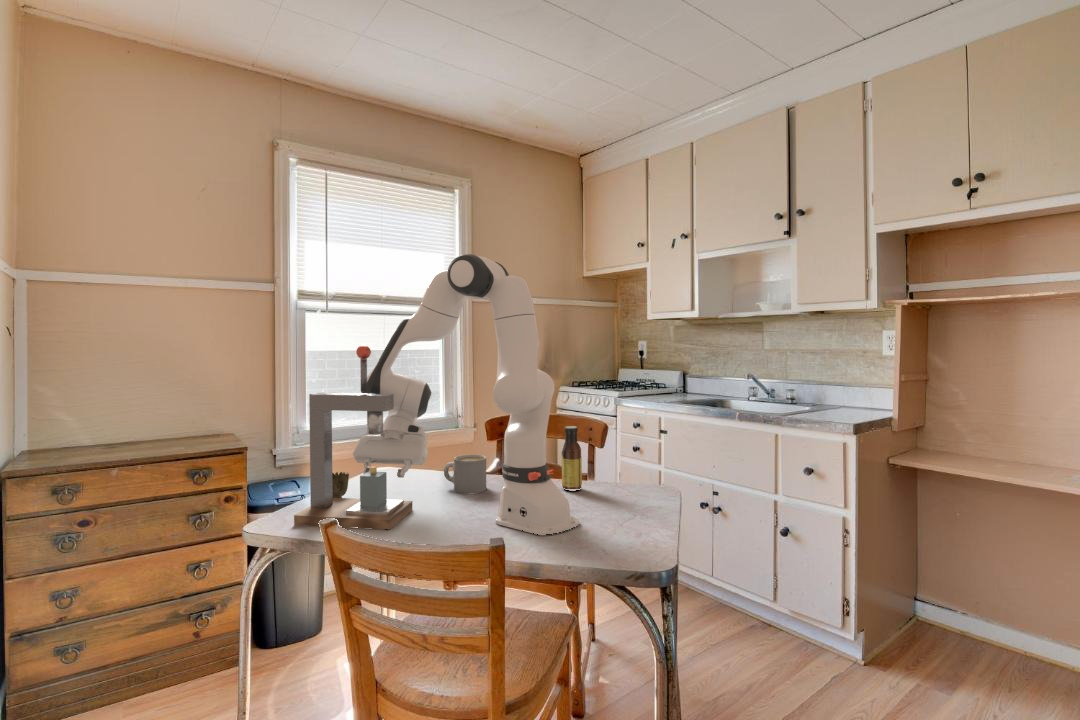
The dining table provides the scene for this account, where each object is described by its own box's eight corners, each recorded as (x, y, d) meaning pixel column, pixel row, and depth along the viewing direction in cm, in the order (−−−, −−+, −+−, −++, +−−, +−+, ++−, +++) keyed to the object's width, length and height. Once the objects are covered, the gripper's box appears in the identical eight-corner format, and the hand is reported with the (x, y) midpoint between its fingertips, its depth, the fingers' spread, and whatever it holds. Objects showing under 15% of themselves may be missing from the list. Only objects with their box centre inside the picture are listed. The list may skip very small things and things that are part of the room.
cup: (340, 506, 155) (339, 478, 155) (316, 505, 157) (316, 477, 157) (354, 499, 163) (353, 472, 162) (331, 497, 164) (331, 470, 164)
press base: (412, 510, 153) (412, 501, 153) (389, 530, 137) (389, 520, 137) (326, 506, 156) (326, 497, 156) (294, 525, 140) (294, 515, 140)
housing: (386, 501, 148) (386, 465, 148) (378, 507, 143) (378, 469, 143) (369, 500, 149) (368, 464, 149) (360, 506, 144) (359, 469, 144)
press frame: (403, 503, 150) (402, 345, 149) (387, 516, 139) (386, 345, 138) (325, 500, 153) (323, 344, 152) (303, 512, 142) (301, 345, 141)
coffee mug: (491, 487, 177) (491, 455, 176) (476, 495, 167) (476, 462, 167) (455, 482, 182) (455, 452, 181) (438, 490, 172) (438, 458, 172)
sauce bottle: (571, 486, 178) (571, 424, 178) (585, 489, 174) (586, 426, 173) (557, 489, 174) (557, 426, 173) (571, 493, 169) (572, 429, 169)
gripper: (358, 426, 159) (342, 468, 149) (428, 428, 156) (416, 471, 147) (365, 438, 163) (350, 480, 154) (433, 441, 161) (421, 483, 151)
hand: (383, 475), depth 150 cm, fingers open, 8 cm apart
